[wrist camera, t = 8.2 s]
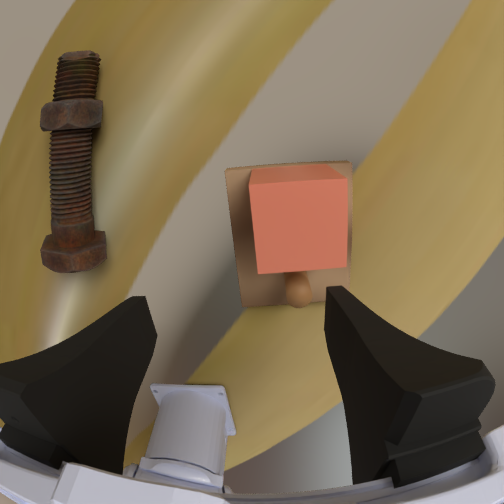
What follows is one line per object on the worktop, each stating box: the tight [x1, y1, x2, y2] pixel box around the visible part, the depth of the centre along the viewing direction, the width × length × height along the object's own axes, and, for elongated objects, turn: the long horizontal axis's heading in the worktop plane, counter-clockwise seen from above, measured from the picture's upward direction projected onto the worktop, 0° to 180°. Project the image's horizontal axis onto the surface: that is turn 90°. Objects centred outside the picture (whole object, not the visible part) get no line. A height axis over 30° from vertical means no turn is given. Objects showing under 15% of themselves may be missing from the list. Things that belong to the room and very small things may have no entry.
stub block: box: [225, 161, 352, 308], centre depth 19 cm, size 10×8×4 cm
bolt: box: [40, 51, 107, 273], centre depth 17 cm, size 6×5×15 cm
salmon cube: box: [249, 164, 348, 274], centre depth 17 cm, size 5×5×5 cm
